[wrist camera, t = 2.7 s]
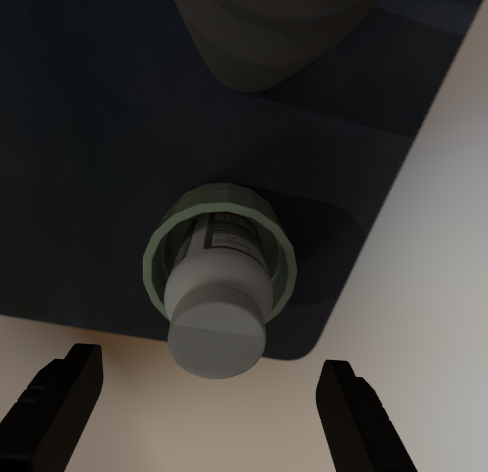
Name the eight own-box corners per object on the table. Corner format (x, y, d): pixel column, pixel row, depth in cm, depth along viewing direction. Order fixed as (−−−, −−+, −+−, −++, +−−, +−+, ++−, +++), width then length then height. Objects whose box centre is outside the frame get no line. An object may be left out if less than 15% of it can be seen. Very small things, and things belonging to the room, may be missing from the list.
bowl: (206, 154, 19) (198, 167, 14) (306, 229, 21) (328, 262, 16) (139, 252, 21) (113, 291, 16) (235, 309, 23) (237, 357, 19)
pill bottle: (210, 287, 22) (197, 408, 13) (168, 231, 20) (118, 327, 11) (273, 254, 21) (306, 358, 12) (235, 192, 19) (240, 261, 10)
